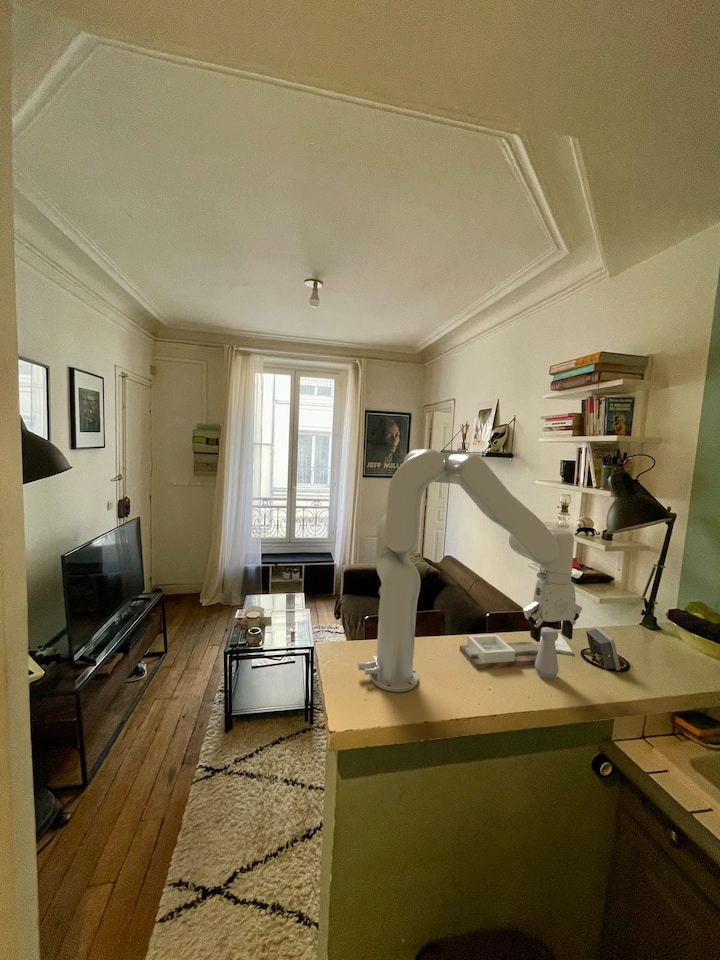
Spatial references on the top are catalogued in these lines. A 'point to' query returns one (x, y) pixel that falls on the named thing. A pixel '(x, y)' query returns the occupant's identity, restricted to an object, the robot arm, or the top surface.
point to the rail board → (519, 661)
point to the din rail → (518, 648)
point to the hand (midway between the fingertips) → (551, 638)
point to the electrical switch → (603, 647)
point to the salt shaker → (547, 655)
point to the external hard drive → (562, 646)
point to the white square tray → (491, 655)
